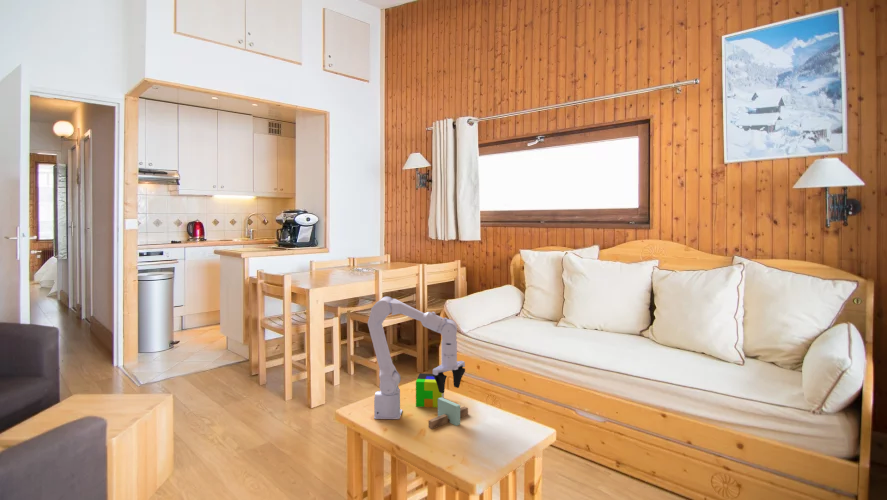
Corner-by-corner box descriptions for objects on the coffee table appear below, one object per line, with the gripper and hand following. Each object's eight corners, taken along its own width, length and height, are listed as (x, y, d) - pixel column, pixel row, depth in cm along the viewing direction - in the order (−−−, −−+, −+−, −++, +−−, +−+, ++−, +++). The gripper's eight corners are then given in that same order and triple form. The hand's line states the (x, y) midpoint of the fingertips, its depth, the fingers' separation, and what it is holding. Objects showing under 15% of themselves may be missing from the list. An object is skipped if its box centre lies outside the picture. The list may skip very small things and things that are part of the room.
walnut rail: (431, 429, 162) (431, 421, 162) (428, 427, 163) (428, 420, 163) (467, 414, 174) (467, 407, 174) (464, 412, 176) (464, 406, 175)
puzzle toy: (443, 398, 191) (443, 374, 190) (441, 407, 181) (441, 382, 180) (419, 397, 192) (419, 373, 191) (415, 406, 182) (415, 381, 181)
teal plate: (460, 424, 166) (460, 405, 165) (456, 425, 165) (456, 406, 164) (441, 415, 173) (441, 397, 173) (437, 417, 172) (437, 398, 171)
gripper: (441, 359, 162) (441, 397, 163) (470, 351, 172) (470, 387, 173) (428, 355, 168) (428, 392, 168) (457, 348, 177) (457, 382, 178)
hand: (449, 389), depth 171 cm, fingers open, 7 cm apart
